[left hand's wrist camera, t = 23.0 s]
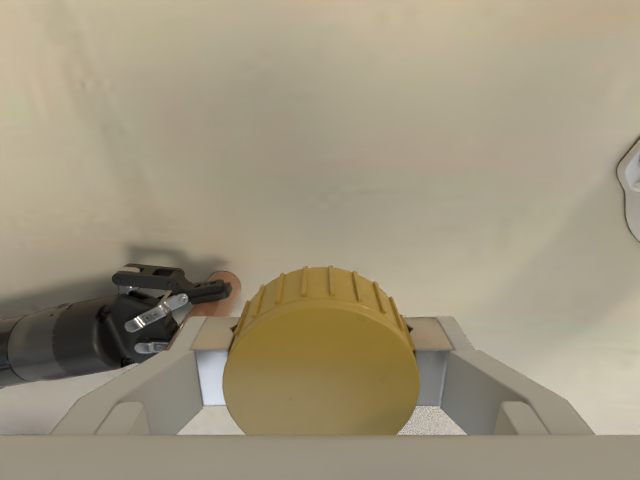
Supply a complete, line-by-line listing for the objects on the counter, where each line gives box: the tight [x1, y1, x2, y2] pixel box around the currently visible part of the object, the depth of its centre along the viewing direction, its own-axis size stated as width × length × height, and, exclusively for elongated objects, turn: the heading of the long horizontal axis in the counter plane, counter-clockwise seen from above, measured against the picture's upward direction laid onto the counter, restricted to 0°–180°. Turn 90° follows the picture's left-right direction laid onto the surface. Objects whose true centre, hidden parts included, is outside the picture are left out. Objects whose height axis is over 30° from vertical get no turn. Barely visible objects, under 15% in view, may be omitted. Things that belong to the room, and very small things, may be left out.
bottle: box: [164, 271, 241, 351], centre depth 34 cm, size 4×4×18 cm
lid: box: [222, 266, 420, 435], centre depth 9 cm, size 5×5×2 cm
